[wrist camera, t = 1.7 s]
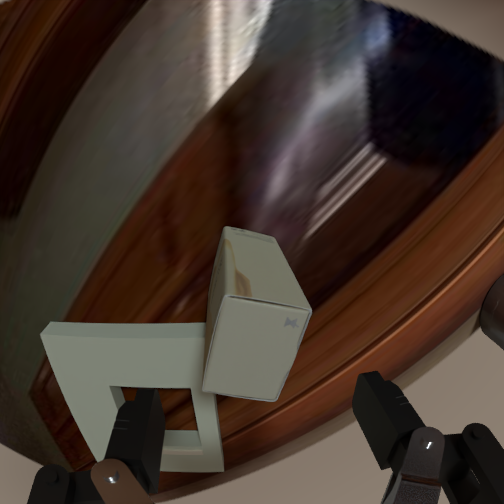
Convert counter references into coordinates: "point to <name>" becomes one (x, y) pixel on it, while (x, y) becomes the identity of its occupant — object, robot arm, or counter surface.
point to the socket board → (135, 382)
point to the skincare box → (252, 318)
